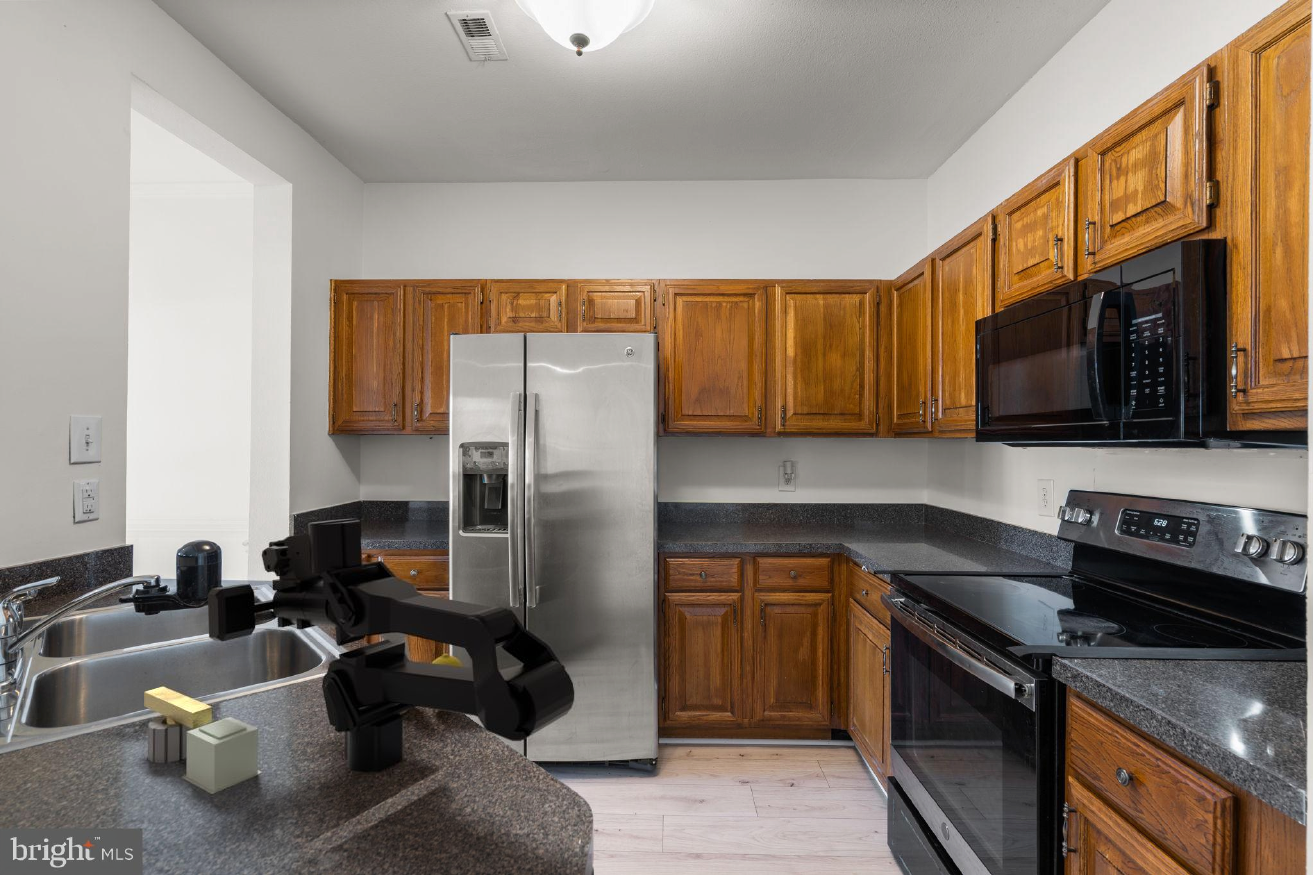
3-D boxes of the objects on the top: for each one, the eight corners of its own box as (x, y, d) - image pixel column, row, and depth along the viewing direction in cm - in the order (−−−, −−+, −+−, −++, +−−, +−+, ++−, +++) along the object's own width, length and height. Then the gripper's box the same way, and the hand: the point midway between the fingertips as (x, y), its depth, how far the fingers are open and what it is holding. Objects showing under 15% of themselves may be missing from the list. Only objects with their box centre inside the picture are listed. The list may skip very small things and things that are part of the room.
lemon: (426, 720, 90) (426, 662, 90) (423, 704, 95) (424, 650, 95) (467, 713, 92) (467, 657, 92) (462, 699, 97) (463, 645, 97)
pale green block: (257, 772, 73) (258, 726, 73) (214, 791, 69) (214, 742, 69) (229, 759, 76) (230, 714, 76) (186, 776, 72) (186, 729, 72)
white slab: (283, 772, 75) (283, 729, 75) (186, 815, 67) (186, 766, 67) (207, 737, 84) (207, 698, 84) (113, 771, 75) (113, 728, 75)
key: (211, 761, 76) (211, 706, 76) (192, 768, 74) (192, 712, 74) (162, 737, 82) (163, 686, 82) (144, 743, 80) (144, 691, 80)
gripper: (385, 530, 90) (317, 531, 98) (244, 547, 74) (176, 548, 81) (388, 611, 89) (319, 606, 97) (247, 646, 73) (178, 637, 81)
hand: (254, 598), depth 89 cm, fingers open, 9 cm apart
